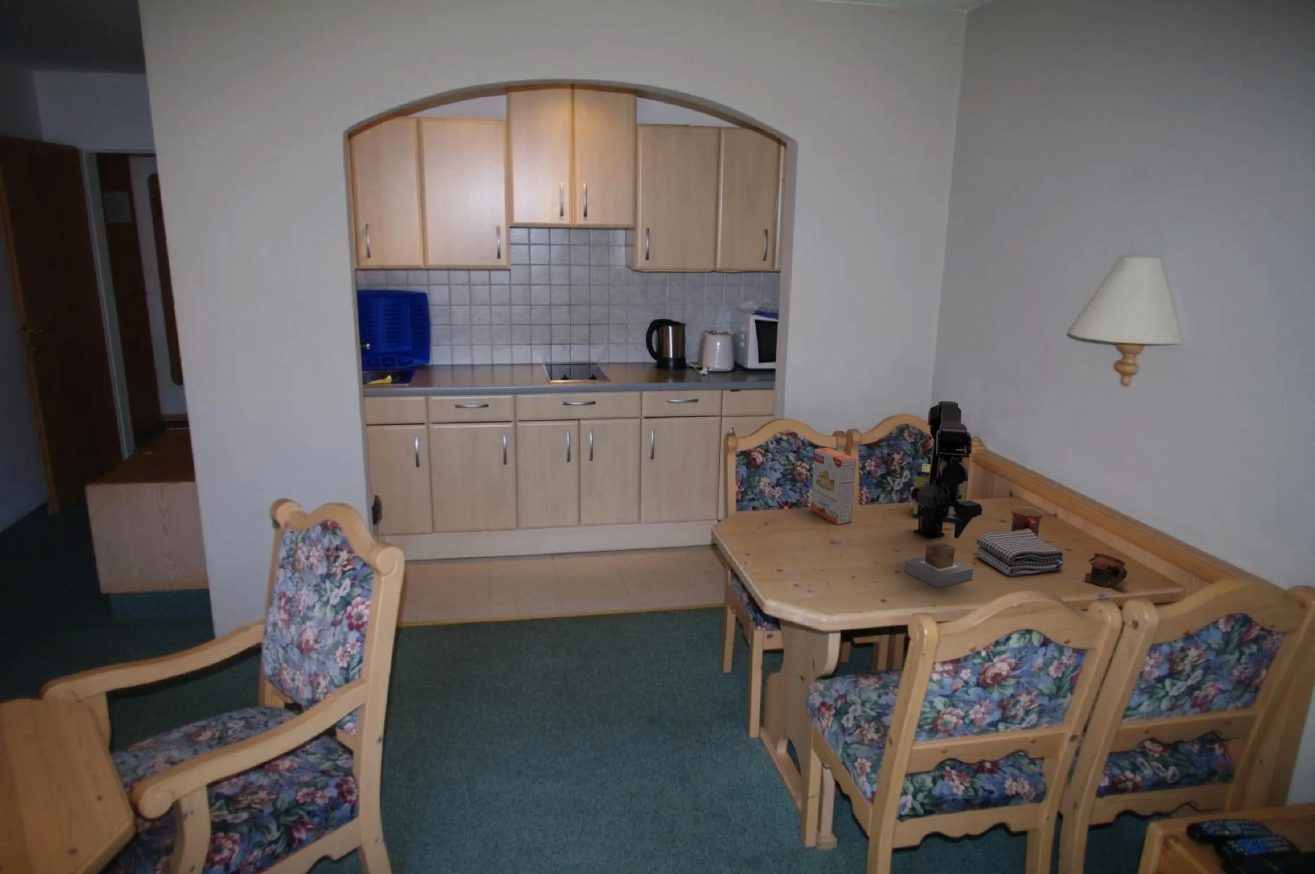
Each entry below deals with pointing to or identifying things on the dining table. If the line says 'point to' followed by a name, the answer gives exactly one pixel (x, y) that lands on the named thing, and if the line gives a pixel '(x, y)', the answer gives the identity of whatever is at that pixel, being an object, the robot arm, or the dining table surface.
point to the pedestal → (938, 572)
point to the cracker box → (833, 485)
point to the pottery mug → (1106, 570)
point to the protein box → (922, 479)
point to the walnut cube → (939, 555)
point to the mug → (1026, 519)
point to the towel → (1018, 552)
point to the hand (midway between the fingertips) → (942, 532)
